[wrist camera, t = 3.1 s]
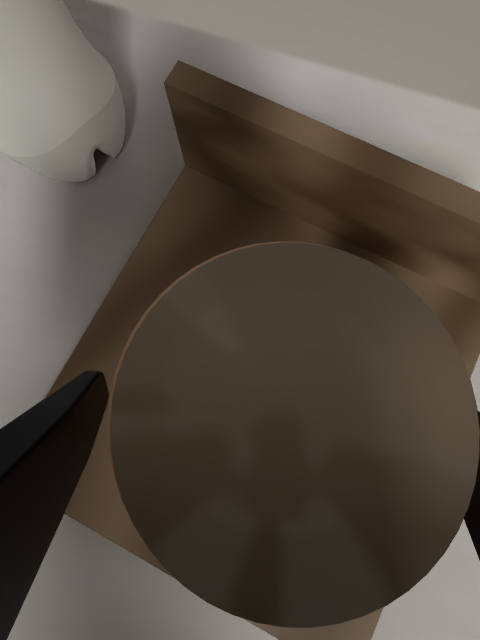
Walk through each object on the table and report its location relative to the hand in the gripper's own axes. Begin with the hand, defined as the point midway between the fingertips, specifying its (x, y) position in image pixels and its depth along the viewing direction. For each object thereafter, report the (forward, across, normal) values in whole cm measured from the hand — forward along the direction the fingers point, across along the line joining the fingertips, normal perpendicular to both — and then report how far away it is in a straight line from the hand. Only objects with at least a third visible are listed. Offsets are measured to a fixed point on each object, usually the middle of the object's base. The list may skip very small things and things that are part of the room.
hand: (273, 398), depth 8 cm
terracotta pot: (+5, 0, +5) cm, 7 cm away
